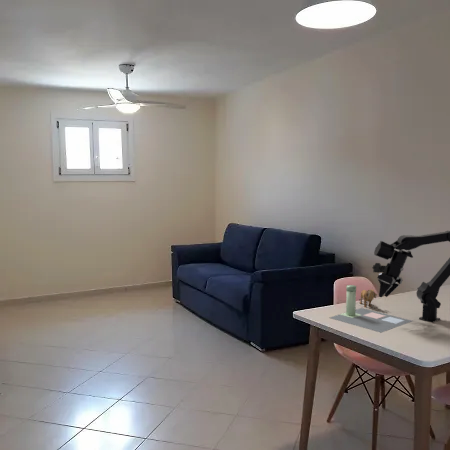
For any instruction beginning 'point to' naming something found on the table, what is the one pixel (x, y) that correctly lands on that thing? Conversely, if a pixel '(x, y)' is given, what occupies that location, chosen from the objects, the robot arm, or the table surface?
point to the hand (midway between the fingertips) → (382, 296)
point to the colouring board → (372, 320)
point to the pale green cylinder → (351, 300)
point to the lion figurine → (367, 297)
